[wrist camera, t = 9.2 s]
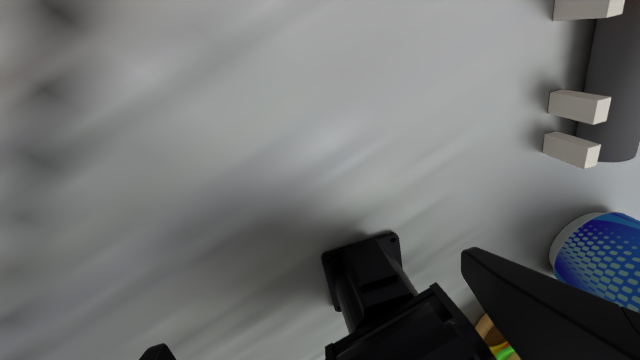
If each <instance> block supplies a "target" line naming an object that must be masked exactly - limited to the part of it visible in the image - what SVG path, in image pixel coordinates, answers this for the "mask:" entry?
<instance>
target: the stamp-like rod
mask: <svg viewBox="0 0 640 360" xmlns="http://www.w3.org/2000/svg"><path fill="white" fill-rule="evenodd" d="M584 93H589V94H596V95H602V96H608V97H611V102H610V106H609V111H608V115H607V120H606V121H604V122H601V123H597V124H594V125H592V124H588V123H584V122H580V121H578V127H577V132H576V137H578V138H581V139H584V140H588V141H591V142H594V143H597V144H601V147H600V152H599V156H598V162H622V161H627V160H630V159H632V158H634V157H635V156H636V153H637V149H638V145H639V142H640V0H625V2H624V7H623V12H622V14H620V15H616V16H612V17H608V18H597V21H596V27H595V32H594V38H593V44H592V49H591V55H590V60H589V66H588V71H587V77H586V82H585V88H584Z"/></svg>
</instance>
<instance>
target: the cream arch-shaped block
mask: <svg viewBox="0 0 640 360" xmlns="http://www.w3.org/2000/svg"><path fill="white" fill-rule="evenodd" d="M624 2H625V0H555V5H554V13H553V21H563V20H579V19H595V18H608V17H612V16H616V15H620V14H622V12H623V7H624Z"/></svg>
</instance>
